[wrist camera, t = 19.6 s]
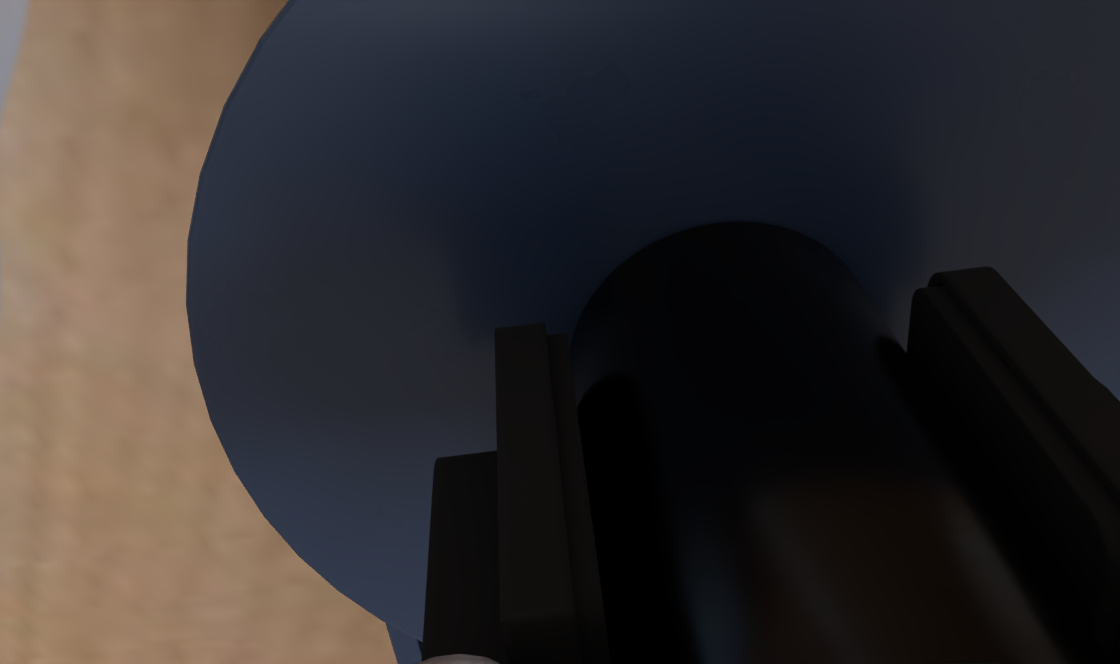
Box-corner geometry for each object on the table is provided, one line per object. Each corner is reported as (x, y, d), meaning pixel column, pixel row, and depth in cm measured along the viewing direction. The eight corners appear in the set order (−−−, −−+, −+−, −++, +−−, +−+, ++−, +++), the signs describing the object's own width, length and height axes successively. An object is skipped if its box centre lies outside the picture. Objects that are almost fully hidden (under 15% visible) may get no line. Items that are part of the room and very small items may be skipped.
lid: (42, -155, 9) (-737, 83, 3) (1318, -323, 9) (2824, -381, 3) (339, 678, 16) (251, 1264, 10) (1090, 582, 16) (1460, 1112, 10)
